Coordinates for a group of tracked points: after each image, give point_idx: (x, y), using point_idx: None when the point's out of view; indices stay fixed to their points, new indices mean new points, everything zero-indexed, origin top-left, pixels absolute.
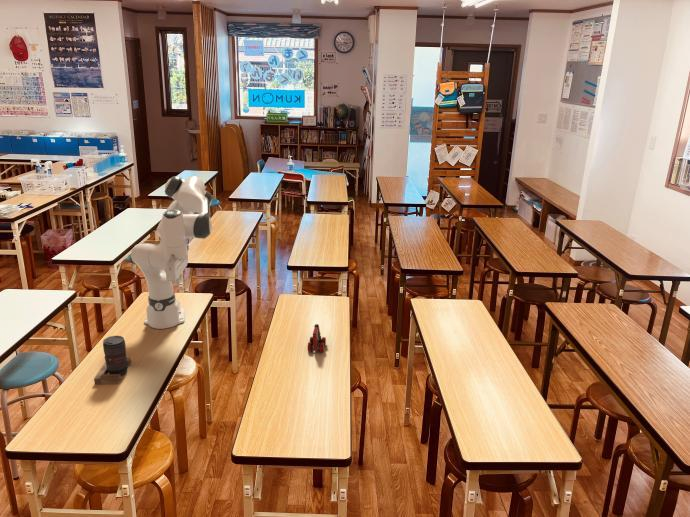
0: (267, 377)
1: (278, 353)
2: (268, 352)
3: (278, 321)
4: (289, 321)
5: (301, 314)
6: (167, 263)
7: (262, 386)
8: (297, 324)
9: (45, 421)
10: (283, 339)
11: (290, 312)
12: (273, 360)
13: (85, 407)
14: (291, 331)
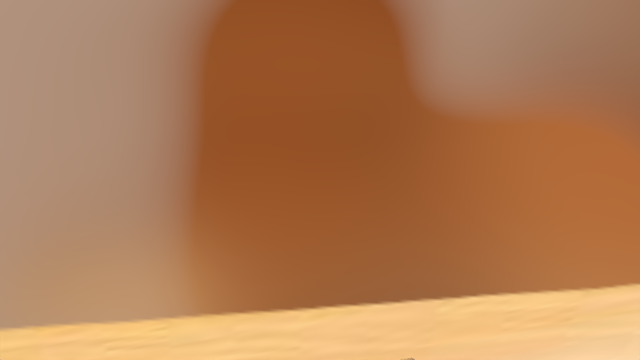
0: (90, 347)
1: (286, 344)
2: (295, 313)
3: (567, 296)
4: (554, 329)
5: (602, 353)
6: None
7: (17, 345)
8: (520, 356)
9: None
10: (402, 338)
11: (635, 319)
12: (228, 339)
13: None
14: (465, 349)
